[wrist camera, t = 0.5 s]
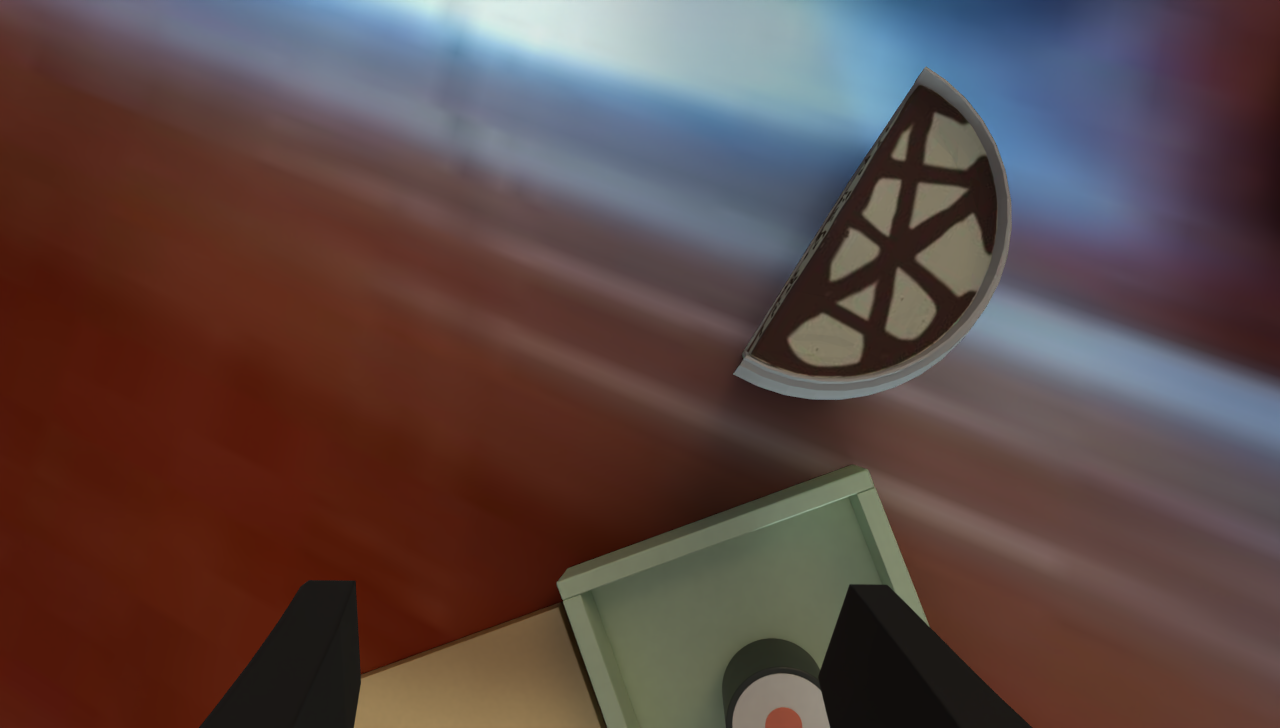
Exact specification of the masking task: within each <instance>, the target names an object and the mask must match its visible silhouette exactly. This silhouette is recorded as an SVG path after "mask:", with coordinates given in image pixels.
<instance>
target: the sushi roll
mask: <svg viewBox="0 0 1280 728" xmlns="http://www.w3.org/2000/svg"><path fill="white" fill-rule="evenodd" d="M819 672H820V669H819V667H818V665H817V663H816V662H815V660H814V659H813V658H812V657H811V655H810V654H809V653H808V652H806V651H805V650H804V649H803V648H801V647H800V646H798V645H796V644H795V643H792V642H790V641H787V640H783V639H777V638H767V639H761V640H757V641H754V642H752V643H749V644H748V645H746V646H744V647H743V648H742V649H740V650H739V651H738V652H737V653H736V654H735V655H734V656H733V658H732V659H731V660H730V662H729V664H728V666H727V668H726V670H725V673H724V677H723V682H722V697H723V706H724V715H725V725H726V728H830V725H829V721H828V717H827V714H826V709H825V705H824V701H823V696H822V692H821V688H820V683H819V679H818V675H819Z"/></svg>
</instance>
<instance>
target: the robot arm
mask: <svg viewBox="0 0 1280 728" xmlns="http://www.w3.org/2000/svg"><path fill="white" fill-rule="evenodd" d="M818 679H819V683H820V688H821V692H822V696H823V701H824V705H825V709H826V714H827V717H828V721H829V725H830V728H1032V727H1031V726H1030V725H1029V724H1028V723H1027V722H1026V721H1025V720H1024V719H1022V718H1021V717H1020V716H1019V715H1018V714H1017V713H1016V712H1015V711H1014V710H1013V709H1012V708H1011V707H1010V706H1009V705H1008V704H1006V703H1005V702H1004V701H1003V700H1002V699H1001V698H1000V697H999V696H998V695H997V694H996V693H995V692H994V691H993V690H992V689H991V688H990V687H989V686H988V685H987V684H986V683H985V682H984V681H983V680H982V679H981V678H980V677H979V676H978V675H977V674H976V673H975V672H974V671H973V670H972V669H971V668H970V667H969V666H968V665H967V664H966V663H965V662H964V661H963V660H962V659H961V658H960V657H959V656H958V655H957V654H956V653H955V652H954V651H953V650H952V649H951V648H950V647H949V646H948V645H947V644H946V643H945V642H944V641H943V640H942V639H941V638H940V637H939V636H938V635H937V634H936V633H935V632H934V631H933V630H932V629H931V628H930V627H929V626H928V625H927V624H926V623H925V622H924V621H923V620H922V619H921V618H920V617H919V616H918V615H917V614H916V613H915V612H914V611H913V610H912V609H911V608H910V607H909V606H908V605H907V604H906V603H905V602H904V601H903V600H902V599H901V598H900V597H899V596H898V595H897V594H896V593H895V592H894V591H893V590H892V589H891V588H890V587H889V586H888V585H875V584H850V585H849V587H848V590H847V593H846V596H845V599H844V602H843V605H842V608H841V611H840V614H839V617H838V620H837V623H836V626H835V628H834V631H833V634H832V637H831V640H830V643H829V646H828V649H827V652H826V655H825V658H824V661H823V664H822V667H821V669H820V672H819V675H818ZM360 686H361V674H360V655H359V637H358V619H357V600H356V582H355V581H313V580H309V581H308V582H306V583H305V584H304V585H302V586H301V587H300V589H299V590H298V592H297V593H296V595H295V597H294V598H293V600H292V601H291V603H290V605H289V606H288V608H287V609H286V611H285V612H284V614H283V615H282V617H281V618H280V620H279V621H278V623H277V624H276V626H275V627H274V629H273V630H272V632H271V633H270V634H269V636H268V637H267V639H266V640H265V642H264V643H263V644H262V646H261V647H260V649H259V650H258V651H257V653H256V654H255V656H254V657H253V658H252V660H251V661H250V662H249V664H248V665H247V667H246V668H245V669H244V671H243V672H242V673H241V674H240V676H239V677H238V678H237V680H236V681H235V682H234V684H233V685H232V686H231V687H230V689H229V690H228V691H227V693H226V694H225V695H224V697H223V698H222V699H221V700H220V702H219V703H218V704H217V706H216V707H215V708H214V710H213V711H212V712H211V713H210V715H209V716H208V717H207V718H206V720H205V721H204V722H203V723H202V725H201V726H200V727H199V728H354V724H355V717H356V711H357V705H358V699H359V692H360Z"/></svg>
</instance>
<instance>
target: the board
mask: <svg viewBox="0 0 1280 728" xmlns="http://www.w3.org/2000/svg"><path fill="white" fill-rule="evenodd" d="M354 728H606V725H605V722H604V719H603V717H602V714H601V711H600V708H599V705H598V702H597V700H596V697H595V694H594V691H593V688H592V685H591V683H590V680H589V677H588V674H587V671H586V668H585V666H584V663H583V660H582V657H581V654H580V651H579V649H578V646H577V643H576V640H575V637H574V635H573V632H572V629H571V626H570V623H569V620H568V618H567V615H566V612H565V609H564V606H563V603H562V602H560V603H557V604H554V605H552V606H549V607H546V608H543V609H541V610H538V611H535V612H532V613H530V614H527V615H524V616H521V617H519V618H516V619H513V620H510V621H508V622H505V623H502V624H499V625H497V626H494V627H491V628H488V629H486V630H483V631H480V632H477V633H475V634H472V635H469V636H466V637H464V638H461V639H458V640H455V641H453V642H450V643H447V644H444V645H442V646H439V647H436V648H433V649H431V650H428V651H425V652H422V653H420V654H417V655H414V656H411V657H409V658H406V659H403V660H400V661H398V662H395V663H392V664H389V665H387V666H384V667H381V668H378V669H376V670H373V671H370V672H367V673H365V674H362V675H361V686H360V692H359V699H358V705H357V711H356V717H355V724H354Z"/></svg>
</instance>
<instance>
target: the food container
mask: <svg viewBox="0 0 1280 728" xmlns="http://www.w3.org/2000/svg"><path fill="white" fill-rule="evenodd" d="M1011 229H1012V227H1011V198H1010V192H1009V187H1008V181H1007V176H1006V172H1005V168H1004V165H1003V162H1002V159H1001V156H1000V154H999V151H998V148H997V145H996V143H995V141H994V139H993V137H992V136H991V134H990V132H989V130H988V128H987V127H986V125H985V123H984V121H983V120H982V118H981V117H980V116H979V115H978V113H977V112H976V111H975V109H974V108H973V107H972V106H971V104H970V103H969V102H968V101H967V99H966V98H965V97H964V96H963V95H961V94H960V93H959V92H958V91H957V90H956V89H955V88H954V87H953V86H952V85H951V84H950V83H949V82H948V81H946V80H945V79H944V78H942V77H941V76H939V75H938V74H936V73H935V72H933V71H932V70H930V69H929V68H927V67H925V68H924V69H923V71H922V72H921V74H920V75H919V76H918V78H917V79H916V81H915V83H914V85H913V86H912V88H911V89H910V91H909V92H908V94H907V95H906V97H905V98H904V100H903V101H902V103H901V104H900V106H899V107H898V109H897V110H896V112H895V113H894V115H893V116H892V118H891V119H890V121H889V122H888V124H887V125H886V127H885V128H884V130H883V131H882V133H881V134H880V136H879V137H878V139H877V140H876V142H875V143H874V145H873V146H872V148H871V149H870V151H869V152H868V154H867V155H866V157H865V158H864V160H863V161H862V163H861V164H860V166H859V167H858V169H857V170H856V172H855V173H854V175H853V176H852V178H851V179H850V181H849V182H848V184H847V186H846V187H845V189H844V190H843V192H842V194H841V195H840V197H839V198H838V200H837V202H836V203H835V205H834V207H833V208H832V210H831V211H830V213H829V215H828V216H827V218H826V219H825V221H824V223H823V224H822V226H821V227H820V229H819V231H818V232H817V234H816V235H815V237H814V239H813V240H812V242H811V244H810V245H809V247H808V248H807V250H806V252H805V253H804V255H803V256H802V258H801V260H800V261H799V263H798V264H797V266H796V268H795V269H794V271H793V272H792V274H791V276H790V277H789V279H788V281H787V282H786V284H785V285H784V287H783V289H782V290H781V292H780V293H779V295H778V297H777V298H776V300H775V301H774V303H773V305H772V306H771V308H770V309H769V311H768V313H767V314H766V316H765V318H764V319H763V321H762V322H761V324H760V326H759V327H758V329H757V330H756V332H755V334H754V335H753V337H752V338H751V340H750V342H749V343H748V345H747V347H746V348H745V350H744V351H743V353H742V356H743V358H744V359H743V361H742V362H741V364H740V365H739V366H738V368H737V369H736V371H735V372H734V375H736V376H738V377H740V378H742V379H744V380H746V381H748V382H750V383H752V384H754V385H756V386H758V387H761V388H764V389H767V390H771V391H774V392H777V393H780V394H783V395H788V396H794V397H800V398H806V399H817V400H841V399H848V398H855V397H862V396H868V395H872V394H875V393H878V392H881V391H884V390H888V389H891V388H894V387H896V386H898V385H900V384H902V383H905V382H907V381H909V380H911V379H913V378H915V377H917V376H919V375H921V374H922V373H923V372H925V371H926V370H928V369H929V368H930V367H932V366H933V365H935V364H936V363H938V362H939V361H940V360H942V359H943V358H944V357H945V356H946V355H947V354H948V353H949V352H950V351H951V350H952V349H953V348H954V347H955V346H956V345H957V344H958V343H959V342H960V341H961V340H962V339H963V338H964V337H965V336H966V334H967V333H968V332H969V330H970V329H971V327H972V326H973V325H974V323H975V322H976V321H977V319H978V318H979V317H980V315H981V314H982V312H983V311H984V310H985V308H986V307H987V305H988V303H989V301H990V299H991V297H992V295H993V293H994V291H995V289H996V287H997V285H998V283H999V281H1000V278H1001V275H1002V272H1003V268H1004V265H1005V262H1006V259H1007V256H1008V249H1009V242H1010V236H1011Z"/></svg>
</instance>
